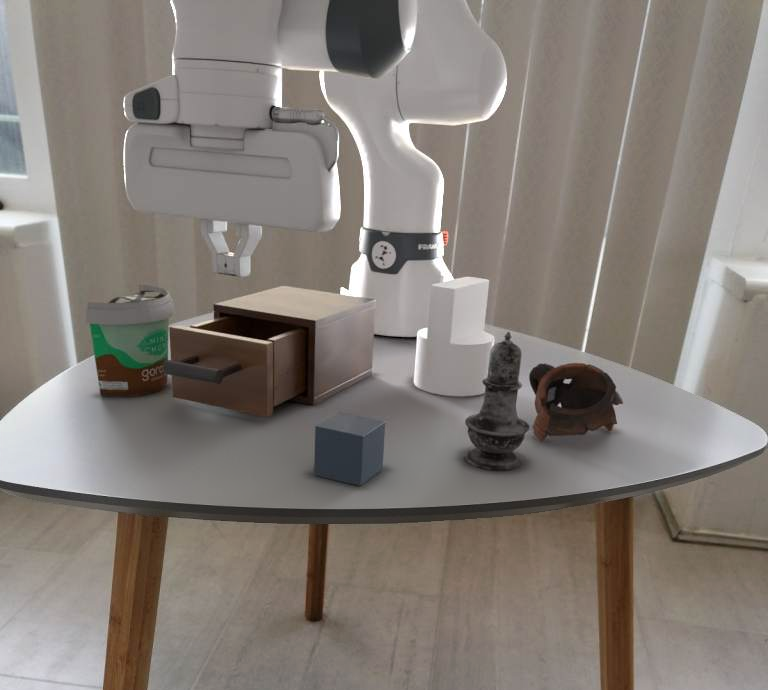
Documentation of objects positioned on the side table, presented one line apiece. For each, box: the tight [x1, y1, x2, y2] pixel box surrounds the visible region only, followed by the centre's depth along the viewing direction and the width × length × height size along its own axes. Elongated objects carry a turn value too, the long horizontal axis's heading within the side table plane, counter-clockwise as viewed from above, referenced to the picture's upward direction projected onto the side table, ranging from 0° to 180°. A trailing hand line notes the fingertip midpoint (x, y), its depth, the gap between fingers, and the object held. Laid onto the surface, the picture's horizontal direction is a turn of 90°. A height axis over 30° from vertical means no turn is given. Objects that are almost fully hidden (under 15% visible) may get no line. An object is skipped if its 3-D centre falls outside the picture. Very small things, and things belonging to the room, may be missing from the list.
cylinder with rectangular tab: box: [413, 276, 496, 397], centre depth 97 cm, size 9×9×12 cm
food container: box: [85, 283, 176, 398], centre depth 90 cm, size 12×6×10 cm, turn 168°
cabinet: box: [212, 285, 376, 406], centre depth 96 cm, size 15×13×9 cm
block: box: [313, 411, 386, 487], centre depth 72 cm, size 4×4×4 cm
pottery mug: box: [529, 362, 624, 442], centre depth 85 cm, size 12×10×8 cm
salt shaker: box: [464, 331, 530, 472], centre depth 75 cm, size 6×6×12 cm
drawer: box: [163, 314, 309, 418], centre depth 86 cm, size 18×11×7 cm, turn 155°
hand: (231, 274), depth 75 cm, fingers closed
